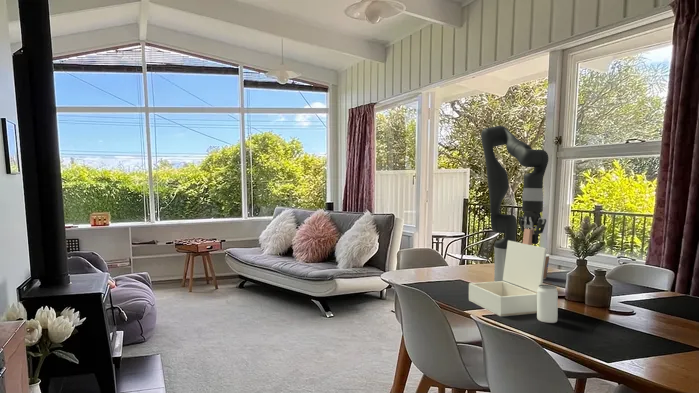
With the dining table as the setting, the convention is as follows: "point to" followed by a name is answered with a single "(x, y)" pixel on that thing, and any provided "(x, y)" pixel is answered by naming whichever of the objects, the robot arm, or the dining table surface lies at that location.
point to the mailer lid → (525, 263)
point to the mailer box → (503, 298)
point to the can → (547, 303)
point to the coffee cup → (546, 266)
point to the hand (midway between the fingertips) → (531, 243)
